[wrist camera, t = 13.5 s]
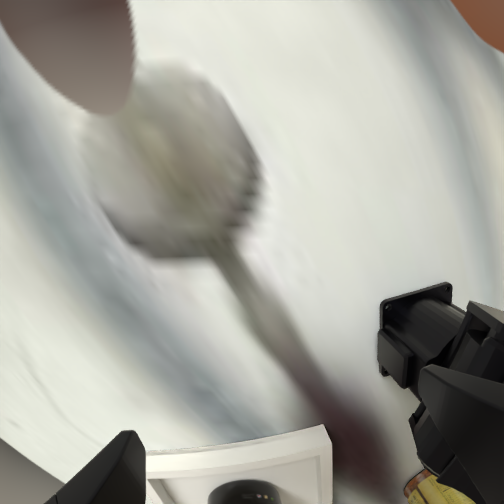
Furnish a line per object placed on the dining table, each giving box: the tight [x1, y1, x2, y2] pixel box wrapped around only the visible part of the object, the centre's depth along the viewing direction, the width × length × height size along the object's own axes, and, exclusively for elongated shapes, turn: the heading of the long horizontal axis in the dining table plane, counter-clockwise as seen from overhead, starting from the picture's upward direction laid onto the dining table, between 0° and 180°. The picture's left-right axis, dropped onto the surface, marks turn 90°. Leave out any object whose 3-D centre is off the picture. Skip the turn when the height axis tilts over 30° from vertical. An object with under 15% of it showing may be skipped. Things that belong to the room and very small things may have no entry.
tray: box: [146, 424, 332, 504], centre depth 23 cm, size 16×16×2 cm
